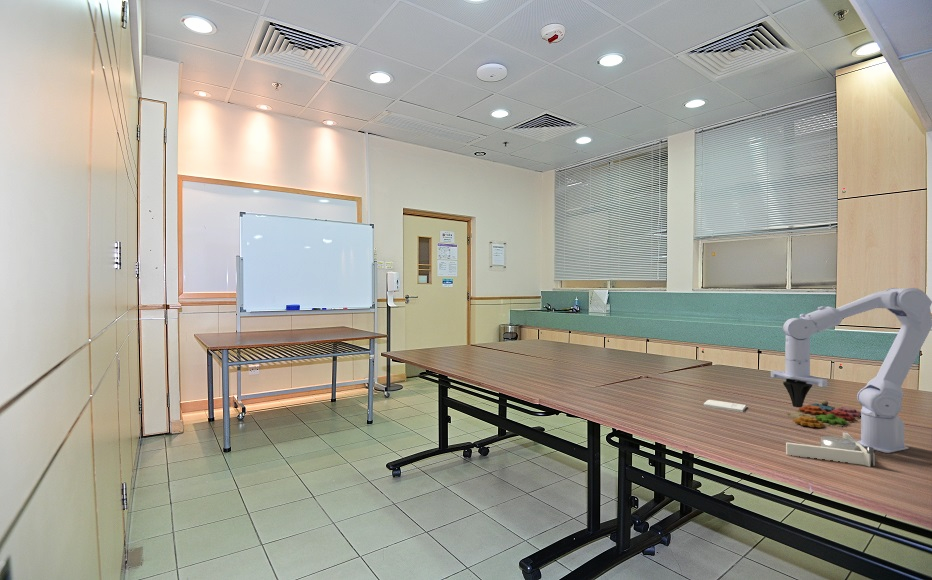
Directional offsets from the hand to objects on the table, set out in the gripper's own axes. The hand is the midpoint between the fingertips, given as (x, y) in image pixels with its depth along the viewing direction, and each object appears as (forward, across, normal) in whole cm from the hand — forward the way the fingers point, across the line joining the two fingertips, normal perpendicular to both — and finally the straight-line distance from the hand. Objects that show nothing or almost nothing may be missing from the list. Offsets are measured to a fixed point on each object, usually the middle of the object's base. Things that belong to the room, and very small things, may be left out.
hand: (797, 406), depth 128 cm
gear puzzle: (+10, -12, +28) cm, 32 cm away
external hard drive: (+10, -33, +11) cm, 37 cm away
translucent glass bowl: (+10, +12, -3) cm, 16 cm away
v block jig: (+9, +14, -3) cm, 17 cm away
